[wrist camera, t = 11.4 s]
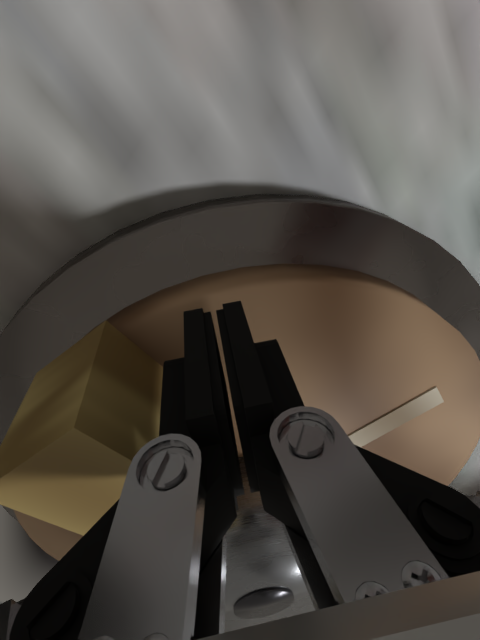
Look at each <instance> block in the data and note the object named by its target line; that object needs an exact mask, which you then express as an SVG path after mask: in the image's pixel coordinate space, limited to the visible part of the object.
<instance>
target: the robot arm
mask: <svg viewBox="0 0 480 640" xmlns="http://www.w3.org/2000/svg"><path fill="white" fill-rule="evenodd" d="M222 306H223V309H220V310H216V314H217V320H218V325H219V331H220V337H221V342H222V348H223V353H224V359H225V365H226V370H227V376H228V382H229V387H230V393H231V398H232V404H233V409H234V414H235V419H236V424H237V429H238V434H239V438H240V443H241V448H242V453H243V458H244V462H245V467H246V472H247V477H248V482H249V486H250V491H251V493H253V492H258V491H259V492H260V496H261V501H262V505H263V508H264V511H265V512H267V513H269V514H270V515H272V516H273V517H275V518H276V519H278V520H279V521H281V524H282V528H283V531H284V533H285V536H286V538H287V541H288V543H289V546H290V548H291V551H292V553H293V556H294V558H295V561H296V563H297V566H298V568H299V571H300V573H301V576H302V578H303V581H304V583H305V586H306V588H307V591H308V593H309V596H310V598H311V601H312V603H313V606H314V608H315V611H311V612H307V613H303V614H299V615H295V616H291V617H287V618H282V619H278V620H274V621H270V622H266V623H262V624H258V625H254V626H250V627H246V628H242V629H238V630H233V631H229V632H225V633H224V626H225V592H226V557H227V537H226V532H227V531H228V529H229V528H230V527H231V525H232V524H233V522H234V521H235V519H236V518H237V512H236V511H237V510H238V503H237V496H240V495H245V493H244V487H243V481H242V475H241V469H240V463H239V457H238V451H237V445H236V439H235V433H234V427H233V421H232V415H231V409H230V403H229V397H228V391H227V386H226V381H225V376H224V371H223V367H222V362H221V357H220V352H219V348H218V343H217V338H216V334H215V329H214V324H213V320H212V315H211V311H210V312H205V313H204V312H203V308H199V309H194V310H189V311H184V313H183V316H184V357H183V358H178V359H173V360H168V361H165V362H164V364H163V377H162V393H161V409H160V425H159V437H157V438H155V439H153V440H151V441H149V442H148V443H147V444H145V445H144V446H143V447H142V448H141V449H140V450H139V451H138V452H137V454H136V455H135V456H134V457H133V460H132V462H131V464H130V466H129V469H128V472H127V476H126V479H125V482H124V486H123V489H122V492H121V496H120V499H119V500H118V501H117V502H116V503H115V504H114V505H113V506H112V507H111V508H110V509H109V510H108V511H107V512H106V513H105V514H104V515H103V516H102V517H101V518H100V519H99V520H98V521H97V522H96V523H95V524H94V525H93V526H92V527H91V529H90V530H89V531H88V532H87V533H86V534H85V535H84V536H83V537H82V538H81V539H80V540H79V541H78V542H77V543H76V544H75V545H74V546H73V547H72V548H71V549H70V550H69V551H68V552H67V553H66V554H65V555H64V556H63V557H62V559H61V560H60V561H59V562H58V563H57V564H56V565H55V566H54V567H53V568H52V569H51V570H50V571H49V572H48V573H47V574H46V575H45V576H44V577H43V578H42V579H41V580H40V581H39V582H38V583H37V585H36V586H35V587H34V588H33V590H32V591H31V592H30V593H29V595H28V596H27V597H26V598H25V599H23V600H20V601H19V602H15V601H14V600H12V599H10V600H8V601H6V602H4V603H2V604H0V640H480V491H477V494H476V496H465V495H463V494H461V493H460V492H458V491H456V490H454V489H453V488H451V487H448V486H446V485H444V484H442V483H439V482H437V481H435V480H433V479H430V478H428V477H426V476H424V475H421V474H419V473H417V472H415V471H413V470H410V469H408V468H406V467H404V466H401V465H399V464H397V463H395V462H392V461H390V460H388V459H386V458H384V457H381V456H379V455H377V454H375V453H372V452H370V451H368V450H366V449H363V448H361V447H359V446H357V445H354V444H353V442H352V441H351V440H350V438H349V437H348V435H347V434H346V433H345V431H344V430H343V428H342V427H341V426H340V424H339V423H338V422H337V421H336V420H335V419H334V418H333V417H332V416H331V415H330V414H328V413H327V412H325V411H323V410H321V409H318V408H314V407H307V406H304V403H303V401H302V399H301V396H300V394H299V391H298V389H297V387H296V384H295V382H294V379H293V377H292V375H291V372H290V370H289V367H288V365H287V363H286V360H285V358H284V355H283V353H282V350H281V348H280V346H279V343H278V341H277V340H276V339H273V340H268V341H263V342H258V343H254V341H253V338H252V335H251V332H250V328H249V325H248V322H247V319H246V316H245V312H244V309H243V306H242V303H241V301H235V302H230V303H225V304H222Z"/></svg>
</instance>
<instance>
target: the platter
mask: <svg viewBox="0 0 480 640" xmlns="http://www.w3.org/2000/svg"><path fill="white" fill-rule="evenodd" d="M235 301H241V303H242V306H243V309H244V312H245V316H246V319H247V322H248V325H249V328H250V332H251V335H252V338H253V341H254V343H258V342H263V341H268V340H273V339H276V340H277V341H278V343H279V346H280V348H281V350H282V353H283V355H284V358H285V360H286V363H287V365H288V367H289V370H290V372H291V375H292V377H293V379H294V382H295V384H296V387H297V389H298V391H299V394H300V396H301V399H302V401H303V403H304V406H307V407H314V408H318V409H321V410H323V411H325V412H327V413H328V414H330V415H331V416H332V417H333V418H334V419H335V420H336V421H337V422H338V423H339V424H340V426H341V427H342V428H343V430H344V431H345V433H346V434H347V435H348V437H349V438H350V440H351V441H352V442H353V444H354V445H357V446H359V447H361V448H363V449H366V450H368V451H370V452H372V453H375V454H377V455H379V456H381V457H384V458H386V459H388V460H390V461H392V462H395V463H397V464H399V465H401V466H404V467H406V468H408V469H410V470H413V471H415V472H417V473H419V474H421V475H424V476H426V477H428V478H430V479H433V480H435V481H437V482H439V483H442V484H444V485H446V486H448V485H449V484H450V483H451V482H452V481H453V480H454V479H455V477H456V476H457V475H458V473H459V472H460V471H461V469H462V468H463V467H464V465H465V464H466V462H467V461H468V459H469V457H470V456H471V454H472V452H473V450H474V449H475V447H476V445H477V443H478V440H479V437H480V360H479V358H478V356H477V354H476V352H475V350H474V349H473V348H472V346H471V345H470V344H469V343H468V341H467V340H466V339H465V338H464V337H463V335H462V334H461V333H460V332H459V331H458V330H457V329H456V328H454V327H453V326H452V325H451V324H449V323H448V322H447V321H446V320H444V319H443V318H442V317H441V316H440V315H438V314H437V313H436V312H435V311H433V310H432V309H431V308H430V307H428V306H427V305H426V304H425V303H423V302H422V301H421V300H419V299H418V298H417V297H416V296H414V295H413V294H411V293H409V292H408V291H406V290H404V289H402V288H400V287H398V286H396V285H394V284H392V283H390V282H389V281H386V280H383V279H380V278H377V277H374V276H371V275H368V274H365V273H362V272H359V271H355V270H349V269H343V268H337V267H332V266H326V265H312V264H284V263H283V264H272V265H261V266H250V267H241V268H236V269H232V270H227V271H222V272H218V273H213V274H208V275H204V276H200V277H197V278H194V279H191V280H188V281H185V282H182V283H180V284H177V285H174V286H171V287H168V288H165V289H162V290H160V291H158V292H156V293H154V294H152V295H150V296H148V297H146V298H143V299H141V300H139V301H137V302H135V303H133V304H131V305H129V306H127V307H125V308H124V309H122V310H120V311H119V312H117V313H116V314H114V315H113V316H111V317H110V318H108V319H107V320H105V321H104V322H102V323H101V324H99V325H98V326H96V327H95V328H93V329H92V330H91V331H90V332H89V333H87V334H86V335H85V336H84V337H83V338H82V339H81V340H79V341H78V342H77V343H75V344H74V345H73V346H71V347H70V348H69V349H67V350H66V351H65V352H63V353H62V354H61V355H60V356H58V357H57V358H56V359H54V360H53V361H52V362H50V363H49V364H48V365H46V366H45V367H44V368H42V369H41V370H40V371H38V372H37V373H36V375H35V377H34V379H33V381H32V383H31V385H30V387H29V389H28V391H27V393H26V395H25V397H24V399H23V401H22V403H21V405H20V407H19V409H18V411H17V413H16V415H15V417H14V419H13V421H12V423H11V425H10V427H9V429H8V431H7V434H6V436H5V438H4V440H3V442H2V444H1V446H0V505H3V506H6V507H8V508H11V509H13V510H14V512H15V515H16V517H17V519H18V521H19V523H20V524H21V526H22V527H23V528H24V530H25V531H26V532H27V534H28V535H29V537H30V538H31V539H32V540H33V541H34V542H35V543H36V544H37V545H38V546H39V547H40V548H42V549H43V550H44V551H45V552H46V553H47V554H49V555H51V556H52V557H53V558H55V559H56V560H58V561H60V560H61V559H62V557H63V556H64V555H65V554H66V553H67V552H68V551H69V550H70V549H71V548H72V547H73V546H74V545H75V544H76V543H77V542H78V541H79V540H80V539H81V538H82V537H83V536H84V535H85V534H86V533H87V532H88V531H89V530H90V529H91V527H92V526H93V525H94V524H95V523H96V522H97V521H98V520H99V519H100V518H101V517H102V516H103V515H104V514H105V513H106V512H107V511H108V510H109V509H110V508H111V507H112V506H113V505H114V504H115V503H116V502H117V501H118V500H119V499H120V496H121V492H122V489H123V486H124V482H125V479H126V476H127V472H128V469H129V466H130V464H131V462H132V460H133V457H134V456H135V455H136V454H137V452H138V451H139V450H140V449H141V448H142V447H143V446H144V445H145V444H147V443H148V442H149V441H151V440H153V439H155V438H157V437H159V425H160V409H161V393H162V377H163V364H164V362H165V361H168V360H173V359H178V358H183V357H184V316H183V313H184V311H189V310H194V309H199V308H203V312H204V313H205V312H210V311H211V315H212V320H213V324H214V329H215V334H216V338H217V343H218V348H219V352H220V357H221V362H222V367H223V371H224V376H225V381H226V386H227V391H228V397H229V403H230V409H231V415H232V421H233V427H234V433H235V439H236V445H237V451H238V457H239V458H241V457H243V453H242V448H241V443H240V438H239V434H238V429H237V424H236V419H235V414H234V409H233V404H232V398H231V393H230V387H229V382H228V376H227V370H226V365H225V359H224V353H223V348H222V342H221V337H220V331H219V325H218V320H217V314H216V310H220V309H223V306H222V304H225V303H230V302H235Z"/></svg>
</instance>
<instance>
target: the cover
mask: <svg viewBox="0 0 480 640" xmlns="http://www.w3.org/2000/svg"><path fill="white" fill-rule="evenodd" d="M239 463H240V469H241V475H242V481H243V487H244V493H245V495H240V496H237V503H238V510H237V511H236V512H237V518H236V519H235V521H234V522H233V524H232V525H231V527H230V528H229V529H228V531H227V532H226V537H227V557H226V592H225V626H224V633H225V632H229V631H233V630H238V629H242V628H246V627H250V626H254V625H258V624H262V623H266V622H270V621H274V620H278V619H282V618H287V617H291V616H295V615H299V614H303V613H307V612H311V611H315V608H314V606H313V603H312V601H311V598H310V596H309V593H308V591H307V588H306V586H305V583H304V581H303V578H302V576H301V573H300V571H299V568H298V566H297V563H296V561H295V558H294V556H293V553H292V551H291V548H290V546H289V543H288V541H287V538H286V536H285V533H284V531H283V528H282V524H281V521H279V520H278V519H276V518H275V517H273V516H272V515H270V514H269V513H267V512H265V511H264V508H263V505H262V501H261V496H260V492H259V491H258V492H253V493H251V491H250V486H249V482H248V477H247V472H246V467H245V462H244V458H243V457H241V458H239Z"/></svg>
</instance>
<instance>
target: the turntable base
mask: <svg viewBox="0 0 480 640" xmlns="http://www.w3.org/2000/svg"><path fill="white" fill-rule="evenodd" d="M283 263H284V264H312V265H326V266H332V267H337V268H343V269H349V270H355V271H359V272H362V273H365V274H368V275H371V276H374V277H377V278H380V279H383V280H386V281H389V282H390V283H392V284H394V285H396V286H398V287H400V288H402V289H404V290H406V291H408V292H409V293H411V294H413V295H414V296H416V297H417V298H418V299H419V300H421V301H422V302H423V303H425V304H426V305H427V306H428V307H430V308H431V309H432V310H433V311H435V312H436V313H437V314H438V315H440V316H441V317H442V318H443V319H444V320H446V321H447V322H448V323H449V324H451V325H452V326H453V327H454V328H456V329H457V330H458V331H459V332H460V333H461V334H462V335H463V337H464V338H465V339H466V340H467V341H468V343H469V344H470V345H471V346H472V348H473V349H474V350H475V352H476V354H477V356H478V358H479V360H480V286H479V284H478V283H477V282H476V280H475V279H474V278H473V277H472V276H471V274H470V273H469V272H468V271H467V270H466V268H465V267H464V266H463V265H462V263H461V262H460V261H459V260H457V259H456V258H455V257H454V256H452V255H451V254H450V253H449V252H447V251H446V250H445V249H444V248H442V247H441V246H440V245H439V244H438V243H436V242H435V241H434V240H432V239H430V238H428V237H426V236H424V235H423V234H421V233H419V232H417V231H415V230H413V229H411V228H410V227H408V226H406V225H404V224H402V223H400V222H398V221H396V220H394V219H392V218H391V217H389V216H387V215H385V214H382V213H379V212H376V211H373V210H370V209H367V208H364V207H361V206H358V205H355V204H352V203H349V202H345V201H339V200H332V199H326V198H320V197H314V196H307V195H275V194H256V195H247V196H239V197H231V198H223V199H215V200H208V201H205V202H201V203H197V204H193V205H190V206H186V207H182V208H178V209H174V210H171V211H167V212H163V213H160V214H158V215H155V216H153V217H151V218H148V219H146V220H143V221H141V222H139V223H136V224H134V225H131V226H129V227H127V228H124V229H122V230H119V231H117V232H115V233H113V234H112V235H110V236H108V237H107V238H105V239H103V240H102V241H100V242H98V243H97V244H95V245H93V246H92V247H90V248H88V249H87V250H85V251H83V252H81V253H80V254H78V255H76V256H75V257H74V258H73V259H72V260H70V261H69V262H68V263H67V264H65V265H64V266H63V267H62V268H61V269H59V270H58V271H57V272H56V273H54V274H53V275H52V276H51V277H50V278H48V279H47V280H46V281H45V282H43V283H42V285H41V286H40V287H39V288H38V289H37V290H36V291H35V292H34V294H33V295H32V296H31V297H30V298H29V299H28V300H27V302H26V303H25V304H24V305H23V306H22V307H21V308H20V309H19V311H18V312H17V313H16V314H15V316H14V317H13V318H12V320H11V321H10V323H9V324H8V325H7V327H6V328H5V329H4V331H3V332H2V334H1V336H0V446H1V444H2V442H3V440H4V438H5V436H6V434H7V431H8V429H9V427H10V425H11V423H12V421H13V419H14V417H15V415H16V413H17V411H18V409H19V407H20V405H21V403H22V401H23V399H24V397H25V395H26V393H27V391H28V389H29V387H30V385H31V383H32V381H33V379H34V377H35V375H36V373H37V372H38V371H40V370H41V369H42V368H44V367H45V366H46V365H48V364H49V363H50V362H52V361H53V360H54V359H56V358H57V357H58V356H60V355H61V354H62V353H63V352H65V351H66V350H67V349H69V348H70V347H71V346H73V345H74V344H75V343H77V342H78V341H79V340H81V339H82V338H83V337H84V336H85V335H86V334H87V333H89V332H90V331H91V330H92V329H93V328H95V327H96V326H98V325H99V324H101V323H102V322H104V321H105V320H107V319H108V318H110V317H111V316H113V315H114V314H116V313H117V312H119V311H120V310H122V309H124V308H125V307H127V306H129V305H131V304H133V303H135V302H137V301H139V300H141V299H143V298H146V297H148V296H150V295H152V294H154V293H156V292H158V291H160V290H162V289H165V288H168V287H171V286H174V285H177V284H180V283H182V282H185V281H188V280H191V279H194V278H197V277H200V276H204V275H208V274H213V273H218V272H222V271H227V270H232V269H236V268H241V267H250V266H261V265H272V264H283ZM2 506H3V505H2ZM3 507H4V508H5V509H6V510H7V512H8V513H9V514H10V515H11V516H13V517H14V518H15V519H16V520H17V521H18V519H17V517H16V515H15V512H14V510H13V509H11V508H8V507H6V506H3Z"/></svg>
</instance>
